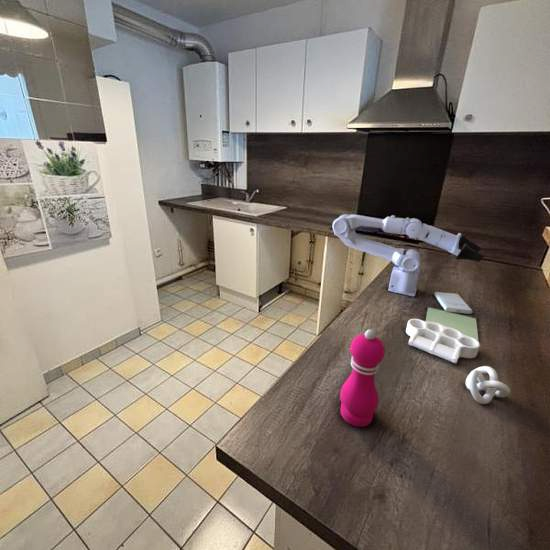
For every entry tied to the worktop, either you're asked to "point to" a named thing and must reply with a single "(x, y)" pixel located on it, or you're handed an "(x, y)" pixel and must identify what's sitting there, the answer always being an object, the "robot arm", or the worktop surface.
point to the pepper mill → (362, 380)
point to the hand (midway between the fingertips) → (480, 254)
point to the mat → (453, 321)
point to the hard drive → (452, 303)
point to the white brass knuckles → (441, 340)
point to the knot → (486, 385)
